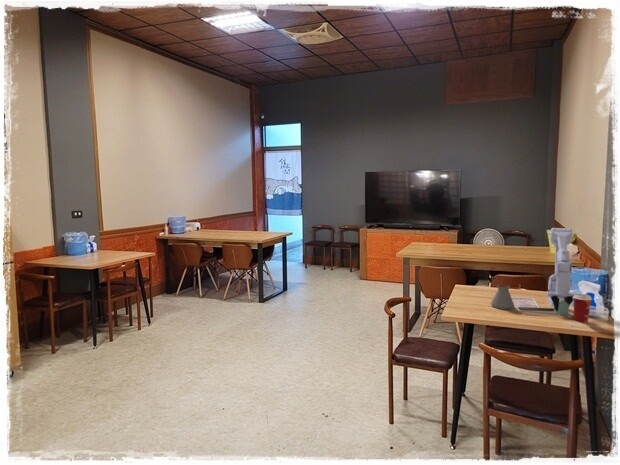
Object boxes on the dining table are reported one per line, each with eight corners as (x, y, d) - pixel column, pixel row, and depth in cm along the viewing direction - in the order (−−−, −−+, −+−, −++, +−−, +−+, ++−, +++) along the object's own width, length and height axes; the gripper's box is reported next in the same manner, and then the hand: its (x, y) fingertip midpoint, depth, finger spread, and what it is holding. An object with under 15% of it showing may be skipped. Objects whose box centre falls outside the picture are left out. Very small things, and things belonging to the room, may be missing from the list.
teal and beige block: (553, 311, 224) (554, 298, 223) (561, 311, 223) (562, 298, 222) (559, 315, 217) (560, 302, 216) (568, 315, 216) (568, 302, 215)
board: (518, 311, 228) (518, 306, 227) (564, 313, 225) (564, 308, 224) (525, 318, 217) (526, 312, 216) (574, 320, 214) (574, 314, 213)
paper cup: (591, 326, 204) (593, 298, 202) (573, 324, 206) (575, 296, 205) (587, 321, 211) (589, 294, 209) (569, 320, 214) (571, 292, 212)
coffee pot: (517, 312, 226) (519, 284, 224) (495, 312, 227) (497, 284, 225) (501, 301, 247) (502, 276, 246) (481, 301, 248) (482, 276, 246)
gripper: (550, 286, 215) (549, 312, 217) (581, 287, 213) (579, 313, 215) (545, 282, 222) (543, 308, 224) (575, 283, 220) (573, 309, 222)
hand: (560, 310), depth 220 cm, fingers closed on teal and beige block, 4 cm apart
